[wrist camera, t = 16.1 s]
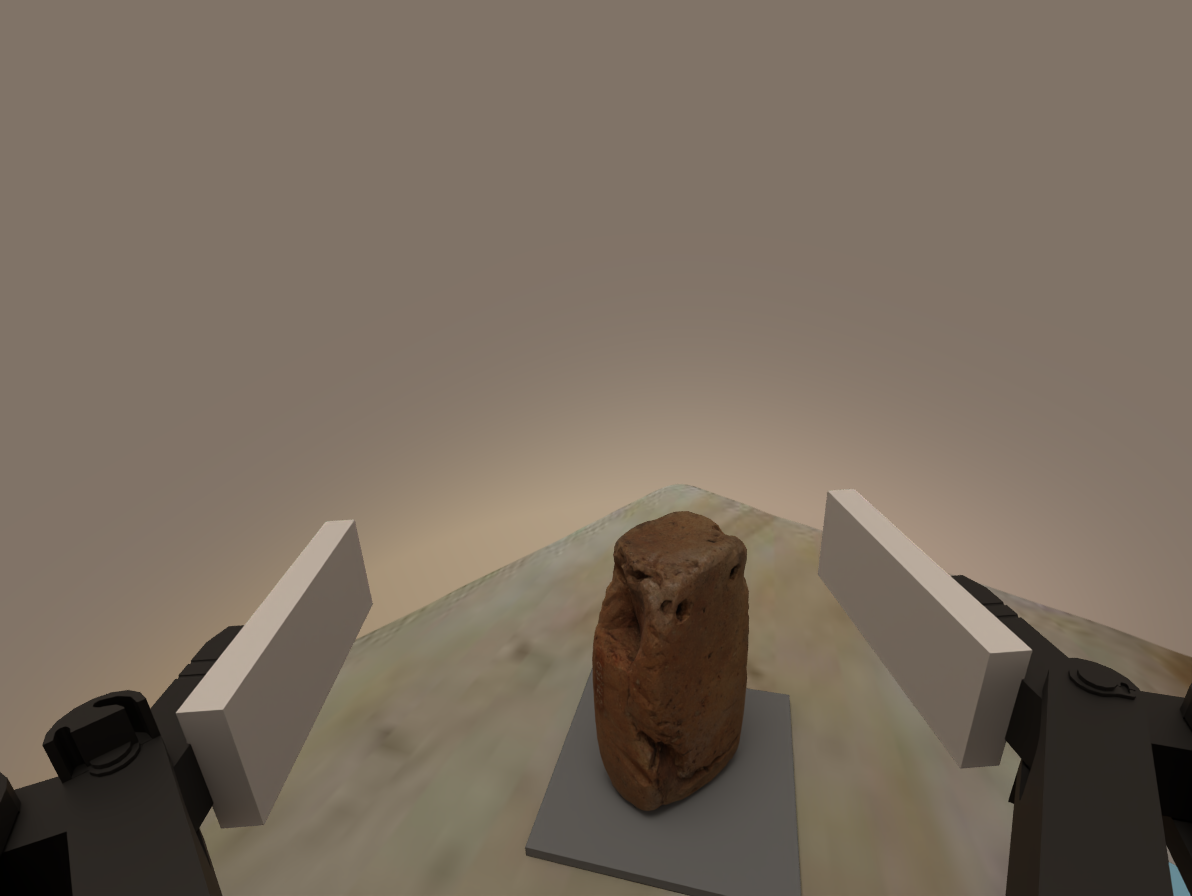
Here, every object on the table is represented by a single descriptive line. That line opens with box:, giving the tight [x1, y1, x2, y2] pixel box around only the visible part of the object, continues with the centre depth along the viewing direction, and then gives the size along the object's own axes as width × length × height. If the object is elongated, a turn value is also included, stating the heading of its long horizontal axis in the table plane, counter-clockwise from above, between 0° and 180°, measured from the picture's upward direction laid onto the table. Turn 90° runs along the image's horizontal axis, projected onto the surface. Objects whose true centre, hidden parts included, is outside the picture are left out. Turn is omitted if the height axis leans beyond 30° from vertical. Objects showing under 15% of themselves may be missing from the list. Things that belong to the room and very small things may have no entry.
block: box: [592, 511, 749, 811], centre depth 42 cm, size 11×8×20 cm
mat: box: [525, 667, 801, 896], centre depth 46 cm, size 18×18×1 cm
